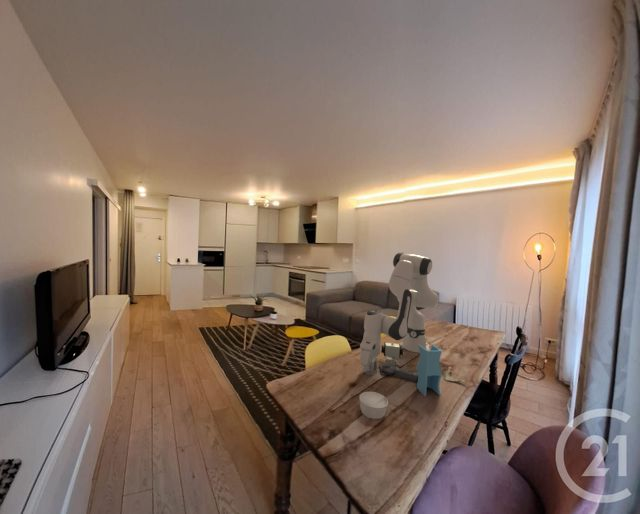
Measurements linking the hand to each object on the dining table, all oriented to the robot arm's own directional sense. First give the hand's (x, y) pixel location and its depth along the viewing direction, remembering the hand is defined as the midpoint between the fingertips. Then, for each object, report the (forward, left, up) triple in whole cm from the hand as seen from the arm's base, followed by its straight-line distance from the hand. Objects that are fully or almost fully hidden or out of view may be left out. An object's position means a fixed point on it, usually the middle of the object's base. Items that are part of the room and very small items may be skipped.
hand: (370, 367), depth 139 cm
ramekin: (+32, +13, -3) cm, 35 cm away
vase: (+1, +28, -2) cm, 29 cm away
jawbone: (-24, +38, -3) cm, 45 cm away
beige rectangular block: (0, 0, -2) cm, 2 cm away
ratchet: (-6, +16, -2) cm, 17 cm away
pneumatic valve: (-18, +6, -2) cm, 19 cm away
